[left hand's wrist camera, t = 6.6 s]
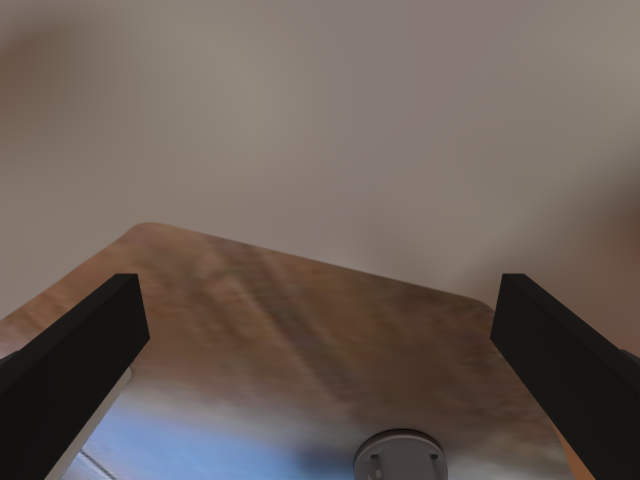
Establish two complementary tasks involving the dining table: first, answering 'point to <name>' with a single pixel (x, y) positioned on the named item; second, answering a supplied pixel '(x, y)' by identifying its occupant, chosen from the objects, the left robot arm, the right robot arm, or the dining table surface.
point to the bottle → (89, 428)
